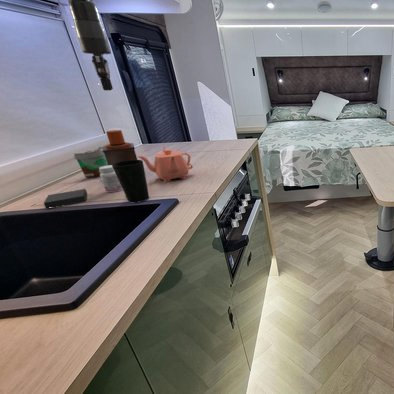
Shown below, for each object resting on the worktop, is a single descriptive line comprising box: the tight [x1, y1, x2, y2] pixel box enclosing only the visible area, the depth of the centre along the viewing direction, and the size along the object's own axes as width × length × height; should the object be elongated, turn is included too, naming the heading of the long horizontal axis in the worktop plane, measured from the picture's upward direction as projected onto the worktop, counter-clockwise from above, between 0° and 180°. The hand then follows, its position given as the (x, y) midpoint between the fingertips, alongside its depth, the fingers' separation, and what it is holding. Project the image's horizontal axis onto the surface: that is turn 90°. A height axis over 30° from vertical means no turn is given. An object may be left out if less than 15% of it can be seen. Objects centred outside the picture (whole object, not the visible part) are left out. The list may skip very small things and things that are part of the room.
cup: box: [112, 159, 150, 203], centre depth 90 cm, size 8×8×12 cm
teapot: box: [136, 147, 194, 183], centre depth 111 cm, size 14×14×11 cm
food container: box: [73, 146, 108, 179], centre depth 115 cm, size 12×6×10 cm, turn 179°
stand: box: [43, 188, 88, 209], centre depth 91 cm, size 9×8×2 cm
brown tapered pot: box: [102, 142, 138, 165], centre depth 112 cm, size 9×9×12 cm
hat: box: [104, 129, 131, 149], centre depth 109 cm, size 8×8×6 cm
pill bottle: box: [99, 165, 123, 193], centre depth 99 cm, size 5×5×8 cm
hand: (108, 90), depth 101 cm, fingers open, 8 cm apart
